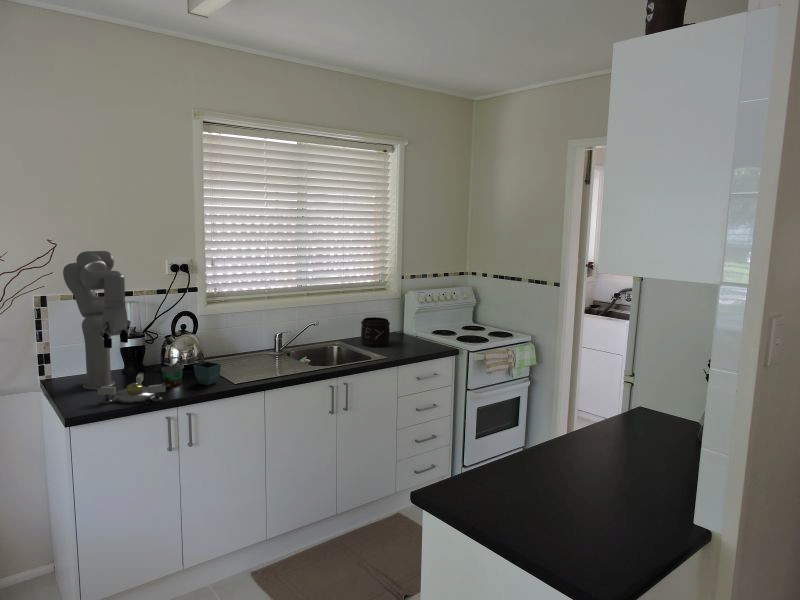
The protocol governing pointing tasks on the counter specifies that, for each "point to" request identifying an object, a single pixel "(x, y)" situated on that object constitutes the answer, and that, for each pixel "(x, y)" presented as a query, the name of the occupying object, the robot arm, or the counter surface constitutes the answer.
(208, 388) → the counter surface
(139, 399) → the levelling plate
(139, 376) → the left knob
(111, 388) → the near knob
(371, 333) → the black canister
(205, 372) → the flower pot
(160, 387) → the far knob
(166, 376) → the food container
